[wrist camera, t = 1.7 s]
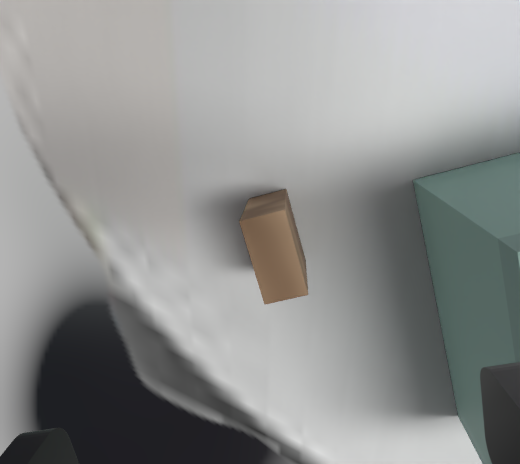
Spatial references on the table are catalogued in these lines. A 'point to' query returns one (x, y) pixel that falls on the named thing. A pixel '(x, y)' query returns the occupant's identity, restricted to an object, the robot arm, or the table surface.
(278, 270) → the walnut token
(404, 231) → the table surface
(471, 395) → the box
